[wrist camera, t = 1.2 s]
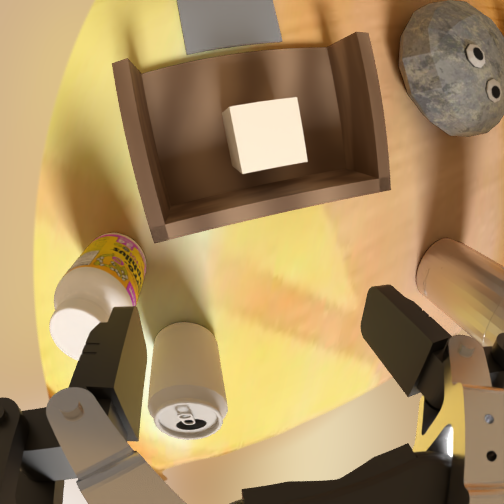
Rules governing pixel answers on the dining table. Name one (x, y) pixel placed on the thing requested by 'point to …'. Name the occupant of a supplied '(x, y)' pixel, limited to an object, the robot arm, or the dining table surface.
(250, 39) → the slate mat
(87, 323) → the supplement bottle
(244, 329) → the dining table surface
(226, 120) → the cream block
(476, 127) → the decorative stone
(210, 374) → the can
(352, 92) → the walnut box
